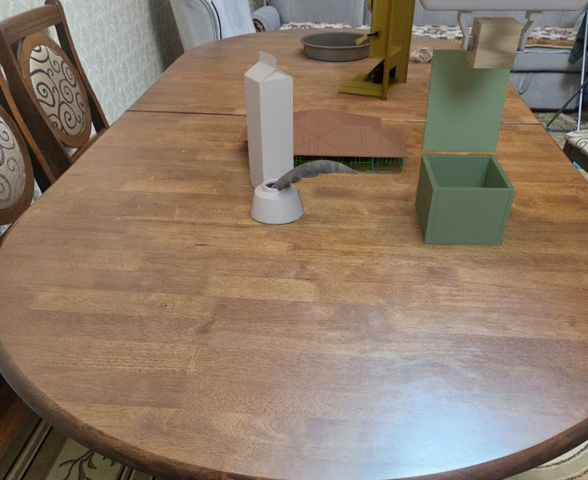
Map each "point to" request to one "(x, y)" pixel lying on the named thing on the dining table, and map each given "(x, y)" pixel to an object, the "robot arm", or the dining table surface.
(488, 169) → the chest
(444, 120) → the lid
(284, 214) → the inkwell
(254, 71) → the milk
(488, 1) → the robot arm
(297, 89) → the dining table surface
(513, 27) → the block
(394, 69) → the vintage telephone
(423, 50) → the beige rough lump
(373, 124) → the house
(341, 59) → the cake pan
